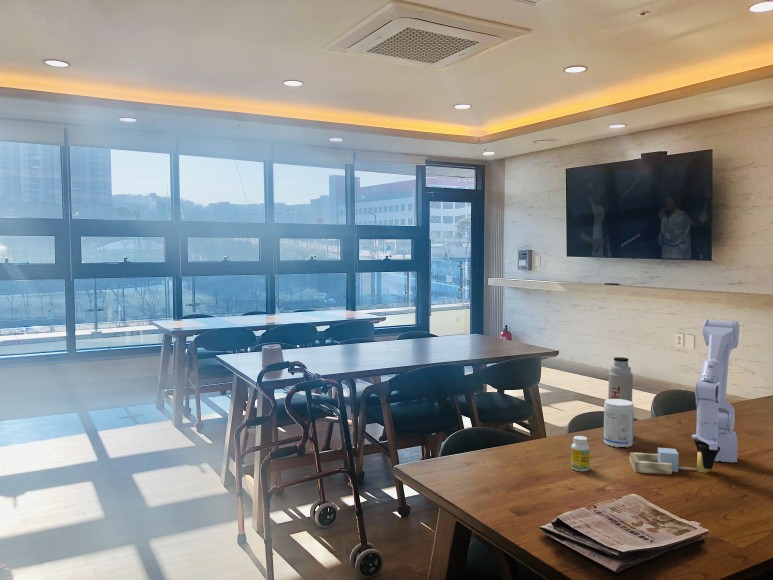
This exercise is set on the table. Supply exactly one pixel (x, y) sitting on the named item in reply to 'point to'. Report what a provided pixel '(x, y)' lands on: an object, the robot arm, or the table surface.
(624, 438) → the supplement tub
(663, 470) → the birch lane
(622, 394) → the thermos bottle
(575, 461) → the supplement bottle
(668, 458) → the corded block
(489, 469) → the table surface
